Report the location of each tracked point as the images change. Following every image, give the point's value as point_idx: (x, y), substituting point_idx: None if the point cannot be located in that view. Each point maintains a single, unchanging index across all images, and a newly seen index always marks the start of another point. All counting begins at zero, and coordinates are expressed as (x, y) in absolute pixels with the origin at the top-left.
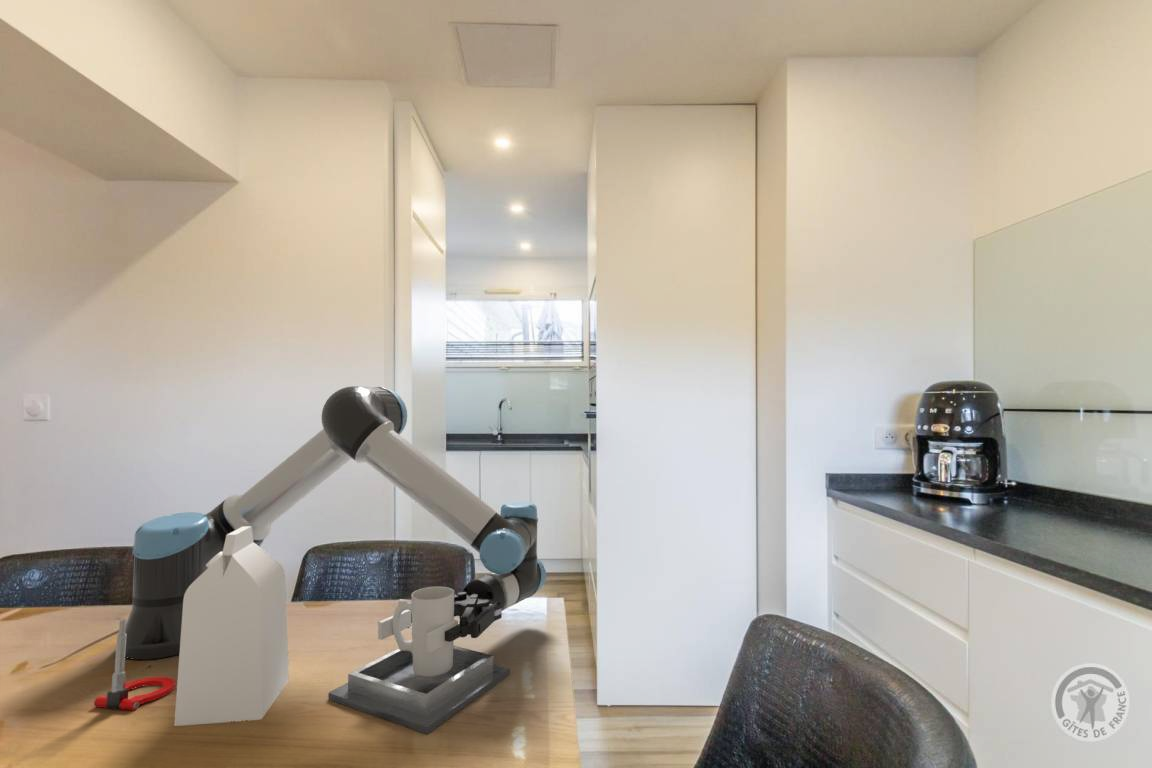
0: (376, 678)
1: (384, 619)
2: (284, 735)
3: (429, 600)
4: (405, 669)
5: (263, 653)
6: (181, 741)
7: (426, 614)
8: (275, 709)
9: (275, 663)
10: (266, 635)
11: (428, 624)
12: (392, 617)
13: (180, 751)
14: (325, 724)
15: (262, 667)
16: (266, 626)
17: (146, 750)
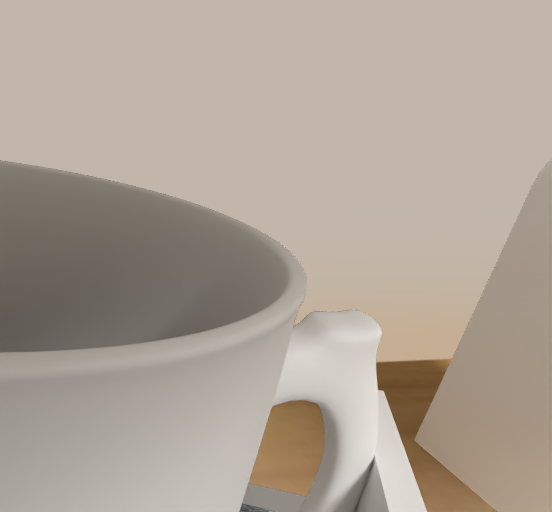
0: (248, 504)
1: (390, 418)
2: (316, 408)
3: (31, 167)
4: None
5: (482, 329)
6: (435, 384)
7: (49, 279)
8: (437, 473)
9: (541, 434)
10: (518, 306)
11: (24, 347)
12: (382, 452)
13: (406, 370)
14: (276, 445)
15: (464, 353)
16: (531, 286)
17: (443, 369)
